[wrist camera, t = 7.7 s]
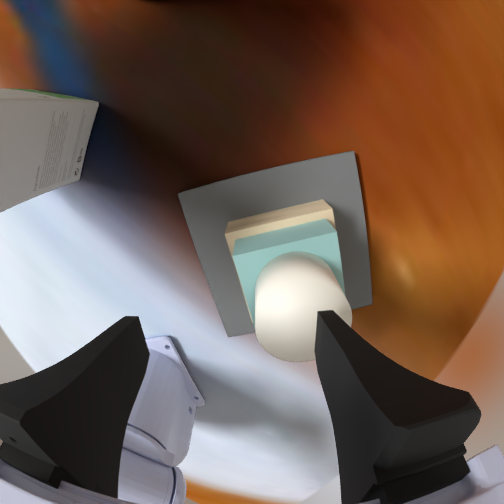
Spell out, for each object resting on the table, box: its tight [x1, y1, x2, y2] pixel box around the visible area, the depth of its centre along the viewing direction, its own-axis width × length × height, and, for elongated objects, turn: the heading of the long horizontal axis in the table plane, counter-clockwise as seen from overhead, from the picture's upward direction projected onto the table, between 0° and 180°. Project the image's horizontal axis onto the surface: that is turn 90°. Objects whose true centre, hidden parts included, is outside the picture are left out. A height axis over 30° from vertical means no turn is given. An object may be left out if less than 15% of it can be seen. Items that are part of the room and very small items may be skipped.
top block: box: [232, 218, 345, 327], centre depth 17 cm, size 6×6×2 cm
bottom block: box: [225, 199, 336, 322], centre depth 19 cm, size 6×6×2 cm
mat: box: [178, 151, 373, 337], centre depth 21 cm, size 12×12×1 cm
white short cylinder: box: [255, 251, 352, 362], centre depth 14 cm, size 4×4×4 cm
